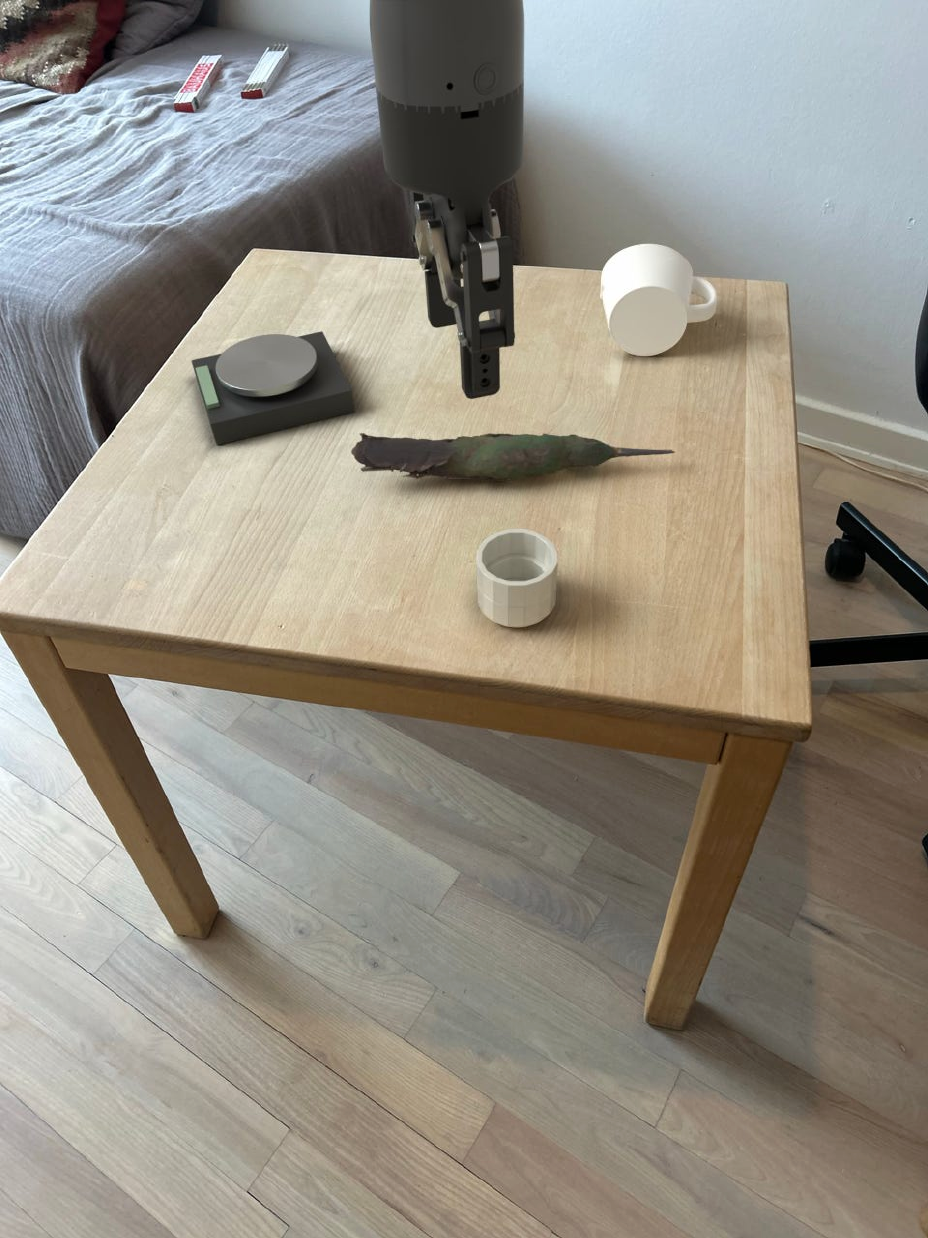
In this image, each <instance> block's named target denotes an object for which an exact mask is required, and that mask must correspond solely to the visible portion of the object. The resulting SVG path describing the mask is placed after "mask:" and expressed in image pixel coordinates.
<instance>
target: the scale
mask: <svg viewBox="0 0 928 1238" xmlns="http://www.w3.org/2000/svg"><path fill="white" fill-rule="evenodd" d="M297 337H299V338H301V339H303V340H305V341H307V342H308V343H310V344H311V345H312V346H313V348H314V349H315V351H316V355H317V361H318V365H317V369H316V371H315V373H314V374H313V376H312V377H311V378H310V379H309V380H308V381H307V382H305V383H304V384H302V385H301V386H299V387H297V388H295V389H293V390H291V391H288V392H285V393H281V394H278V395H273V396H265V397H251V396H243V395H239V394H236V393H233V392H231V391H229V390H227V389H226V388H224V387H223V386H222V385H221V383H220V382H219V380H218V377H217V373H216V363H217V360H218V358H219V357H220V356H221V354H222V353H217V354H213V355H209V356H205V357H204V356H203V357H200V358H196V359H191V365H192V368H193V371H194V375H195V378H196V381H197V384H198V389H199V392H200V395H201V399H202V402H203V405H204V406H203V407H204V409H205V413H206V415H207V419H208V422H209V425H210V426H209V427H210V429H211V432H212V435H213V439H214V443H215V445H216V446H219V445H224V444H227V443H232V442H236V441H240V440H244V439H248V438H252V437H257V436H261V435H265V434H269V433H273V432H277V431H282V430H285V429H289V428H293V427H298V426H301V425H305V424H309V423H314V422H319V421H322V420H325V419H330V418H335V417H338V416H342V415H346V414H351V413H354V412H355V411H356V407H355V402H354V401H355V400H354V395H353V394H354V393H353V390H352V388H351V386H350V383H349V382H348V379H347V378H346V376H345V374H344V372H343V370H342V368H341V366H340V364H339V361H338V360H337V358H336V356H335V353H334V351H333V350H332V347H331V346H330V344H329V342H328V340H327V337H326V336H325V334H324V331H316V332H312V333H308V334H303V335H299V336H297Z"/></svg>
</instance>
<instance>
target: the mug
mask: <svg viewBox="0 0 928 1238" xmlns="http://www.w3.org/2000/svg"><path fill="white" fill-rule="evenodd" d="M600 277H601V278H600V279H601V280H600V293H599V299H600V300H602V305H603V308H604V309H603V310H604V313H605V317H606V322H607V326H608V331H609V332H608V333H609V335H610V337H611V340H612V341H613V342H614V344H615V345H616V346H617V347H618V348H620V349H621V350H622V351H623V352H625V353H628V354H630V355H633V356H637V357H652V356H656V355H659V354H662V353H664V352H666V351H668V350H670V349H672V348H673V347H674V346H675V345H676V344H677V343H678V342H679V341H680V340H681V339H682V337H683V335H684V334H685V331H686V329H687V326H688V324H690V323H692V324H693V323H700V322H705V321H708V320H711V318H712V317H714V315H715V313H716V311H717V306H718V301H719V295H718V292H717V289H716V288H715V286H714V285H713V284H712V283H710V282H709V280H706V279H705V278H702V277H698V276H694V271H693V267H692V264H691V263H690V262H689V260H688V259H686V258H685V257H684V256H683V255H682V254H681V253H679V252H678V251H676V250H675V249H673V248H671V247H668V246H666V245H661V244H656V243H641V244H635V245H632V246H627V247H625V248H623V249H621V250H620V251H618V252H616V253H615V254H614V255H612V256H611V257H610V258H609V259H608V260H607V262H606V263H605V265H604V266H603V268H602V272H601V276H600ZM692 295H695V296H699V297H700V298H702V299H703V300H704V301H705V303H701V304H691V297H692Z"/></svg>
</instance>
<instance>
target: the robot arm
mask: <svg viewBox="0 0 928 1238" xmlns="http://www.w3.org/2000/svg"><path fill="white" fill-rule="evenodd" d="M369 31H370V42H371V43H370V44H371V54H372V64H373V72H374V73H373V74H374V82H375V83H374V85H375V93H376V102H377V111H378V120H379V121H378V122H379V130H380V131H379V132H380V139H381V149H382V150H381V151H382V159H383V168H384V170H385V173H386V175H387V177H388V178H389V180H390V181H392V183H394V184H395V185H397V186H398V187H400V188H402V189H404V190H406V191H408V193H409V194H408V195H409V207H410V221H411V234H410V235H411V242H412V243H413V245H414V247H415V249H417V250H418V254H419V256H418V263H419V265H420V267H421V269H422V271H424V282H425V295H426V309H427V318H428V321H429V323H430V325H431V326H432V327H433V328H435V329H438V328H444V327H450V326H456V328H457V339H458V341H459V355H460V356H459V357H460V375H461V376H460V377H461V389H462V391H463V394H464V395H465V397H466V398H467V399H469V400H475V399H480V398H485V397H490V396H494V395H496V394H497V393H498V392H499V391H500V389H501V369H500V368H501V367H500V365H501V361H500V358H501V357H500V351H501V349H500V348H509V347H513V346H514V345H515V340H516V333H515V293H514V291H515V290H514V288H515V287H514V284H515V283H514V252H515V249H514V247H515V246H514V244H513V242H512V239H511V237H510V236H509V235H506V236H505V235H504V236H502V235H501V234H502V232H501V228H500V227H501V226H500V221H499V216H498V212H497V210H496V209H494V208H493V209H492V207H491V206H492V205H491V203H490V198H491V196H492V194H493V193H494V192H495V191H496V190H497V189H498V188H499V187H500V186H503V184H506V183H509V182H510V181H511V180H512V179H513V178H514V177H515V176H516V175H517V174H518V173H519V171H520V169H521V167H522V165H523V161H524V104H525V103H524V101H525V99H524V98H525V94H524V92H525V10H524V0H369ZM462 283H463V286H462ZM484 312H486V313H487V312H488V318H489V319H485V320H480V316H481V315H482V313H484Z"/></svg>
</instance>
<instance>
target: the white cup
mask: <svg viewBox="0 0 928 1238" xmlns="http://www.w3.org/2000/svg"><path fill="white" fill-rule="evenodd" d="M558 558H559V557H558V550H557V548H556V547H555V545H554V543H553V542H552V540H551V539H549V538H547V537H546V536H545V535H543V534H542V533H540V532H538V531H533V530H530V529H527V528H508V529H504V530H500V531H497V532H494V533H492V534H491V535H489V536H488V537H486V538H485V539H483V541H481V544H480V545H479V547H478V548H477V549H476V559H475V561H476V563H475V564H476V565H475V566H476V589H477V592H476V593H477V605H478V606H479V608H480V610H481V612H482V614H483V615H484V616H485V617H486V618H488V619H489V620H491V622H493V623H495V624H498V625H501V626H504V627H506V628H507V627H508V628H515V629H516V628H526V627H529V626H532V625H536V624H538V623H540V622H541V621H543V620H545V618H547V617H548V616H550V614H551V612H552V610H553V609H554V607H555V605H556V596H557V595H556V594H557V582H558V581H557V579H558V566H559V565H558V564H559V560H558Z"/></svg>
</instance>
